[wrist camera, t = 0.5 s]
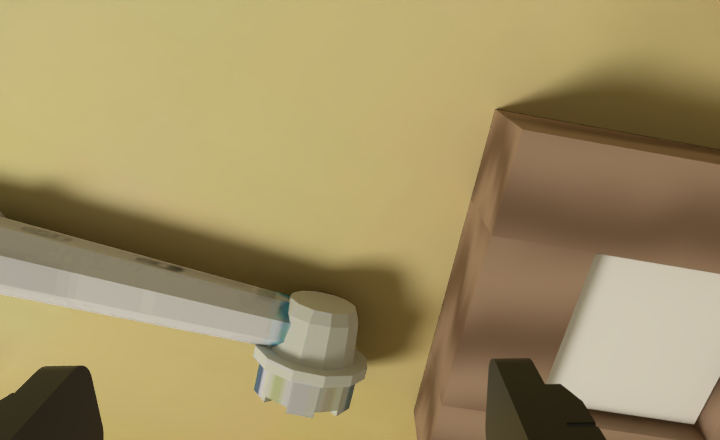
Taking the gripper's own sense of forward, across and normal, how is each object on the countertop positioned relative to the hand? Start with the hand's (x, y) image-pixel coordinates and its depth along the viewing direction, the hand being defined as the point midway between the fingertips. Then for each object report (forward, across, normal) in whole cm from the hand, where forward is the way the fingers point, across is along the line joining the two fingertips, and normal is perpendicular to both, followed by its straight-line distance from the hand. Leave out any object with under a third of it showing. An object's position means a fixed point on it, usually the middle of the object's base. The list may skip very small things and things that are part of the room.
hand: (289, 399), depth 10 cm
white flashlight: (+16, +12, +9) cm, 22 cm away
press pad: (+16, -16, +8) cm, 24 cm away
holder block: (+19, -16, +8) cm, 26 cm away
